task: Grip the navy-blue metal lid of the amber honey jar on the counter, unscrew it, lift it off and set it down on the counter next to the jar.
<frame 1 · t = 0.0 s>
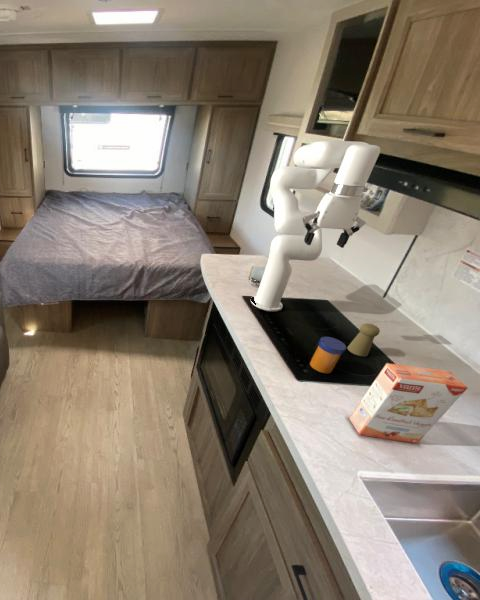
hand: (323, 244, 106), 37 cm above the worktop, tool pointing down, fingers open, 9 cm apart
ceramic mug: (256, 282, 163), on the worktop
lid: (332, 344, 105), point 10 cm above the worktop, screwed on, not yet turned
jar: (320, 366, 110), on the worktop
cracker box: (381, 432, 88), on the worktop
cork: (357, 351, 118), on the worktop
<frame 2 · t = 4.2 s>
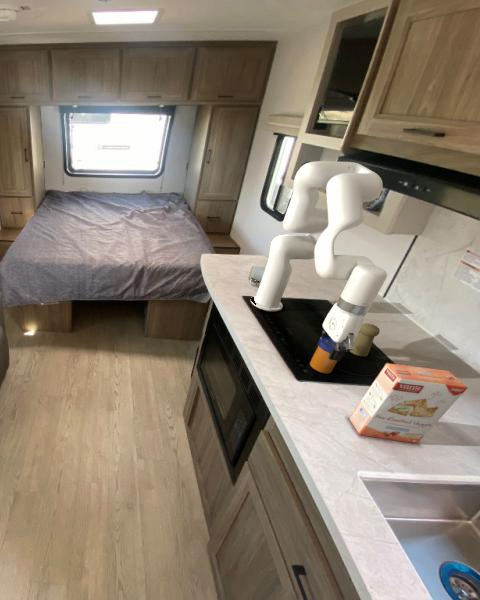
hand: (328, 351, 107), 7 cm above the worktop, tool pointing down, fingers closed on lid, 7 cm apart
lid: (332, 344, 105), point 10 cm above the worktop, screwed on, not yet turned, touching gripper
everything else where it was.
when the fingers open (6 cm above the worktop, at t = 6.8 s): lid stays where it is, point 10 cm above the worktop.
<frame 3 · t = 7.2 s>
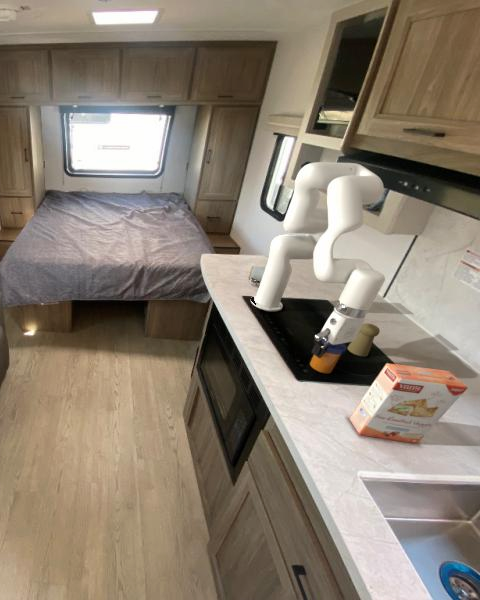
hand: (327, 352, 107), 6 cm above the worktop, tool pointing down, fingers open, 9 cm apart
lid: (332, 343, 105), point 10 cm above the worktop, turned 129° so far, risen 0.2 cm, still on its thread
everything else where it was.
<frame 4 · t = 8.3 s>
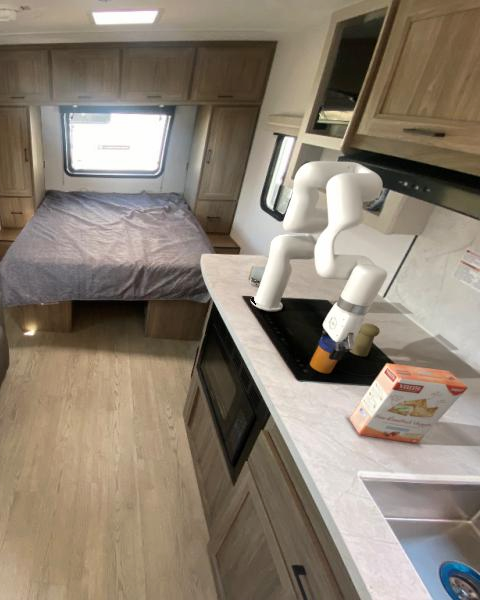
hand: (328, 351, 106), 7 cm above the worktop, tool pointing down, fingers closed on lid, 7 cm apart
lid: (332, 343, 105), point 10 cm above the worktop, turned 129° so far, risen 0.2 cm, still on its thread, touching gripper
everything else where it was.
when the fingers open (6 cm above the worktop, at t = 10.7 s): lid stays where it is, point 10 cm above the worktop.
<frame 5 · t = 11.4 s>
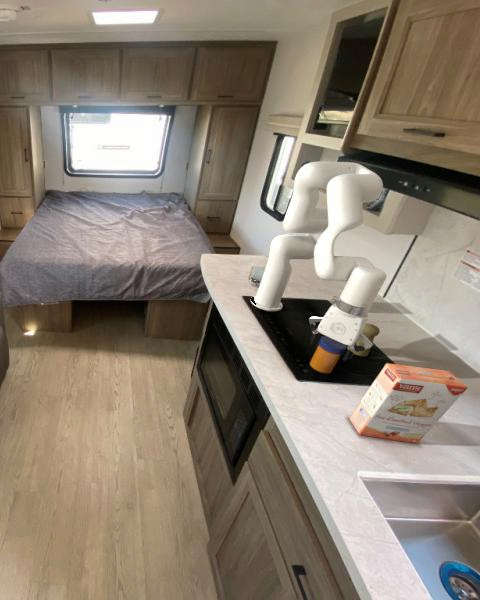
hand: (328, 351, 107), 7 cm above the worktop, tool pointing down, fingers open, 9 cm apart
lid: (333, 343, 105), point 10 cm above the worktop, turned 258° so far, risen 0.4 cm, still on its thread
everything else where it was.
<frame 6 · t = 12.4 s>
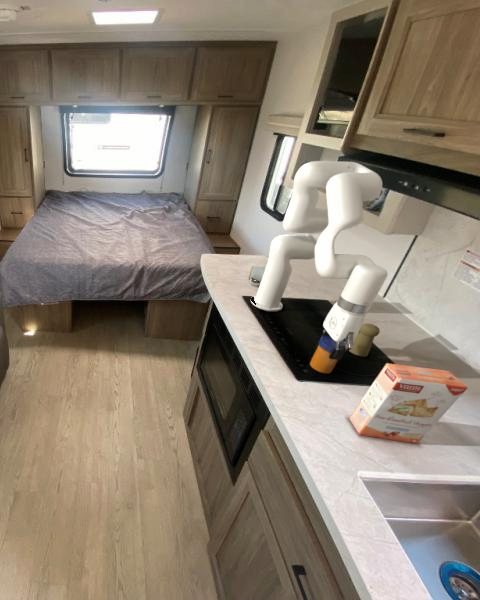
hand: (329, 350, 106), 7 cm above the worktop, tool pointing down, fingers closed on lid, 7 cm apart
lid: (332, 343, 105), point 10 cm above the worktop, turned 258° so far, risen 0.4 cm, still on its thread, touching gripper
everything else where it was.
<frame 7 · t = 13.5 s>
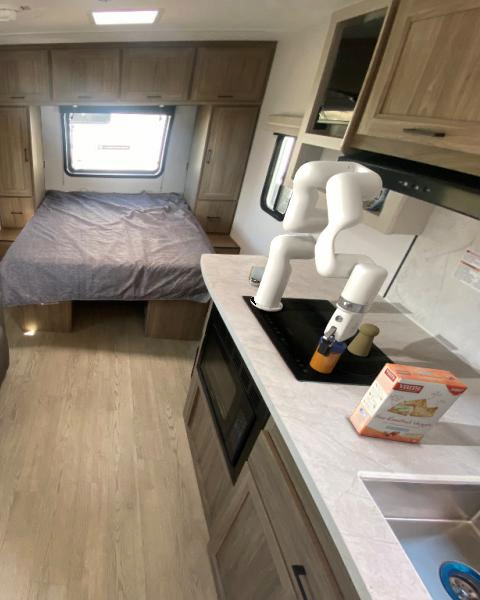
hand: (329, 350, 106), 7 cm above the worktop, tool pointing down, fingers closed on lid, 7 cm apart
lid: (333, 342, 105), point 10 cm above the worktop, off its thread, touching gripper
everything else where it was.
when the fingers open (0 cm above the worktop, at t = 20.7 s): lid stays where it is, point 1 cm above the worktop.
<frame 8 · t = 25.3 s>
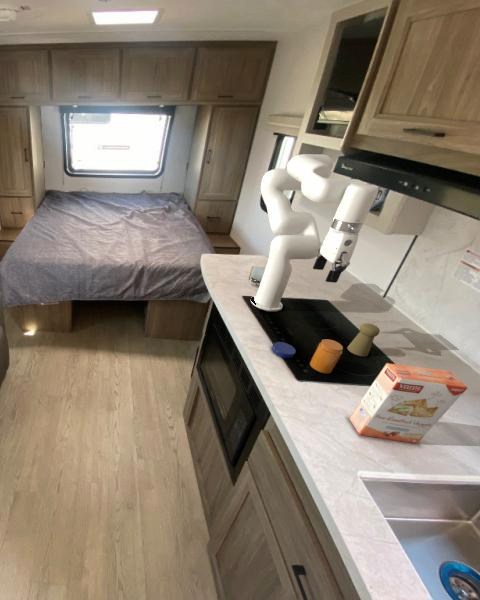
hand: (324, 275, 110), 26 cm above the worktop, tool pointing down, fingers open, 9 cm apart
lid: (284, 348, 116), point 1 cm above the worktop, off its thread
everything else where it was.
at the end: lid came off its thread; lid point 1.4 cm above the worktop; the gripper is holding nothing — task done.
